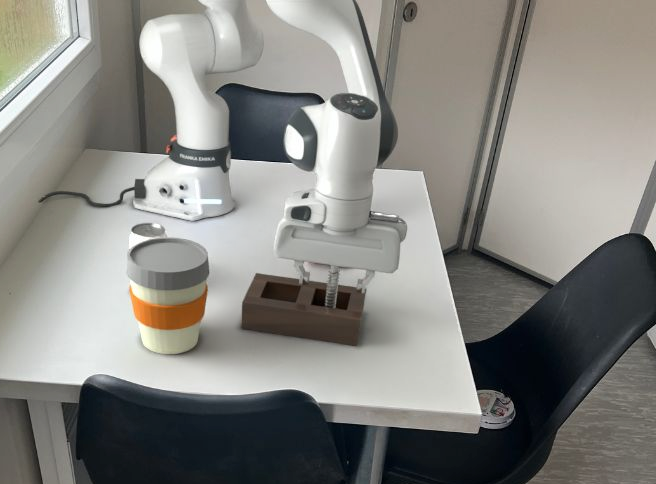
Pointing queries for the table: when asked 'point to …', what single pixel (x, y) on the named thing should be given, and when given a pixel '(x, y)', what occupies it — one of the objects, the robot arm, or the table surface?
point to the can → (146, 232)
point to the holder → (302, 309)
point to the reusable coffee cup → (168, 292)
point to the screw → (332, 287)
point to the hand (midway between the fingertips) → (332, 287)
